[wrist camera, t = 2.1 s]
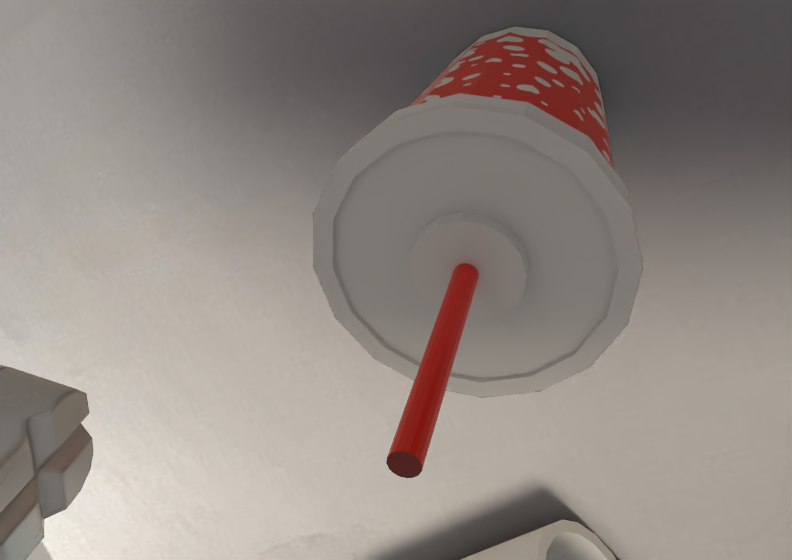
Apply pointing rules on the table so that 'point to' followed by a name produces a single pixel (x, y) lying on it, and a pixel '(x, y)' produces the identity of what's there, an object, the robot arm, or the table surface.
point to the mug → (550, 545)
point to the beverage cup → (482, 232)
